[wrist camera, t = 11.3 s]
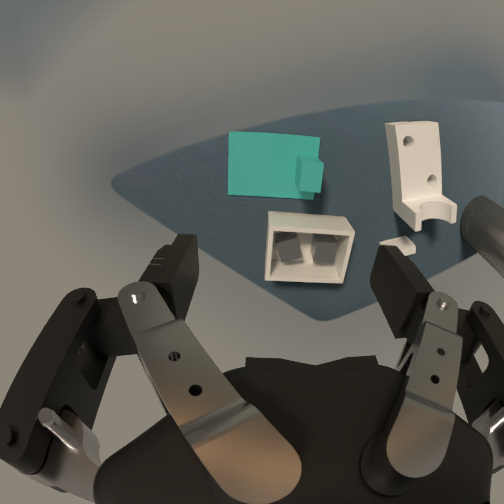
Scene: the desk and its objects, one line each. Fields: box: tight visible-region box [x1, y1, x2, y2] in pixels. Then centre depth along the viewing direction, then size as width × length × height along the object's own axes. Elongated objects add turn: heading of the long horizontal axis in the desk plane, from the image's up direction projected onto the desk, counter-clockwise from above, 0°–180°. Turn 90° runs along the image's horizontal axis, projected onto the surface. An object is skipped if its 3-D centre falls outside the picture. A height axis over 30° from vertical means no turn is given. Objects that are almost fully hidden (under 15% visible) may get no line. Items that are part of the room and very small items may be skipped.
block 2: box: [310, 233, 338, 262], centre depth 38 cm, size 3×3×3 cm
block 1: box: [275, 231, 303, 263], centre depth 38 cm, size 3×3×3 cm
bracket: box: [385, 121, 457, 232], centre depth 30 cm, size 13×7×8 cm, turn 15°
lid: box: [228, 131, 324, 200], centre depth 32 cm, size 12×9×6 cm
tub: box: [265, 211, 355, 283], centre depth 37 cm, size 11×8×5 cm
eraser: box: [380, 236, 416, 256], centre depth 37 cm, size 1×5×4 cm, turn 107°
